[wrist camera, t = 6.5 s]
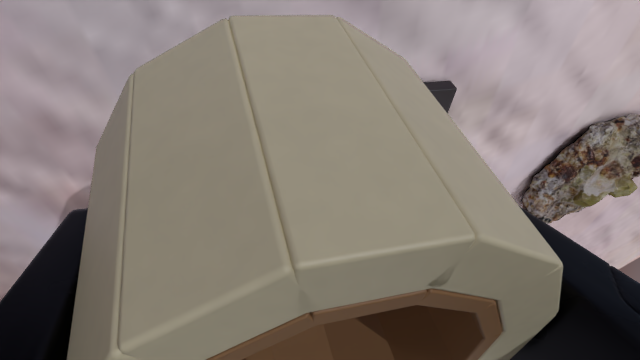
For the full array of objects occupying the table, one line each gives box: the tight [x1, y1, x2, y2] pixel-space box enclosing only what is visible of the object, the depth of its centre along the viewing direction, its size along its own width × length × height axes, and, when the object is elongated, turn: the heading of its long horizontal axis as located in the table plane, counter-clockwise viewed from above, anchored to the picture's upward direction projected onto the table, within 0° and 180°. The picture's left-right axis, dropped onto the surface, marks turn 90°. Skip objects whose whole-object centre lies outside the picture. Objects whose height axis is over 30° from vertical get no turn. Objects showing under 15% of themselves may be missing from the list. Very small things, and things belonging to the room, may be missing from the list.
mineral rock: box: [522, 115, 640, 223], centre depth 31 cm, size 11×4×8 cm
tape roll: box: [67, 15, 563, 360], centre depth 8 cm, size 7×7×5 cm
